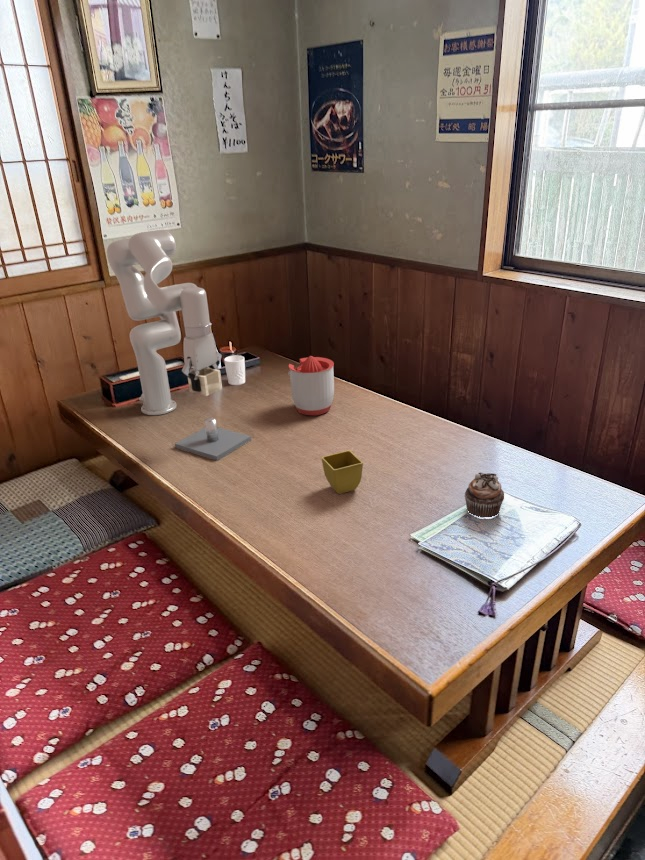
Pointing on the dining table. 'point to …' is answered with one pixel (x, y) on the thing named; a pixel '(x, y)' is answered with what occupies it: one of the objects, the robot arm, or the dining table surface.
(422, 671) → the dining table surface
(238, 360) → the white cup
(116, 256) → the robot arm
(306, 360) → the citrus juicer
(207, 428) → the grey cylinder
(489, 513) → the cupcake
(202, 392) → the birch collar
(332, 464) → the flower pot
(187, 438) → the grey board
